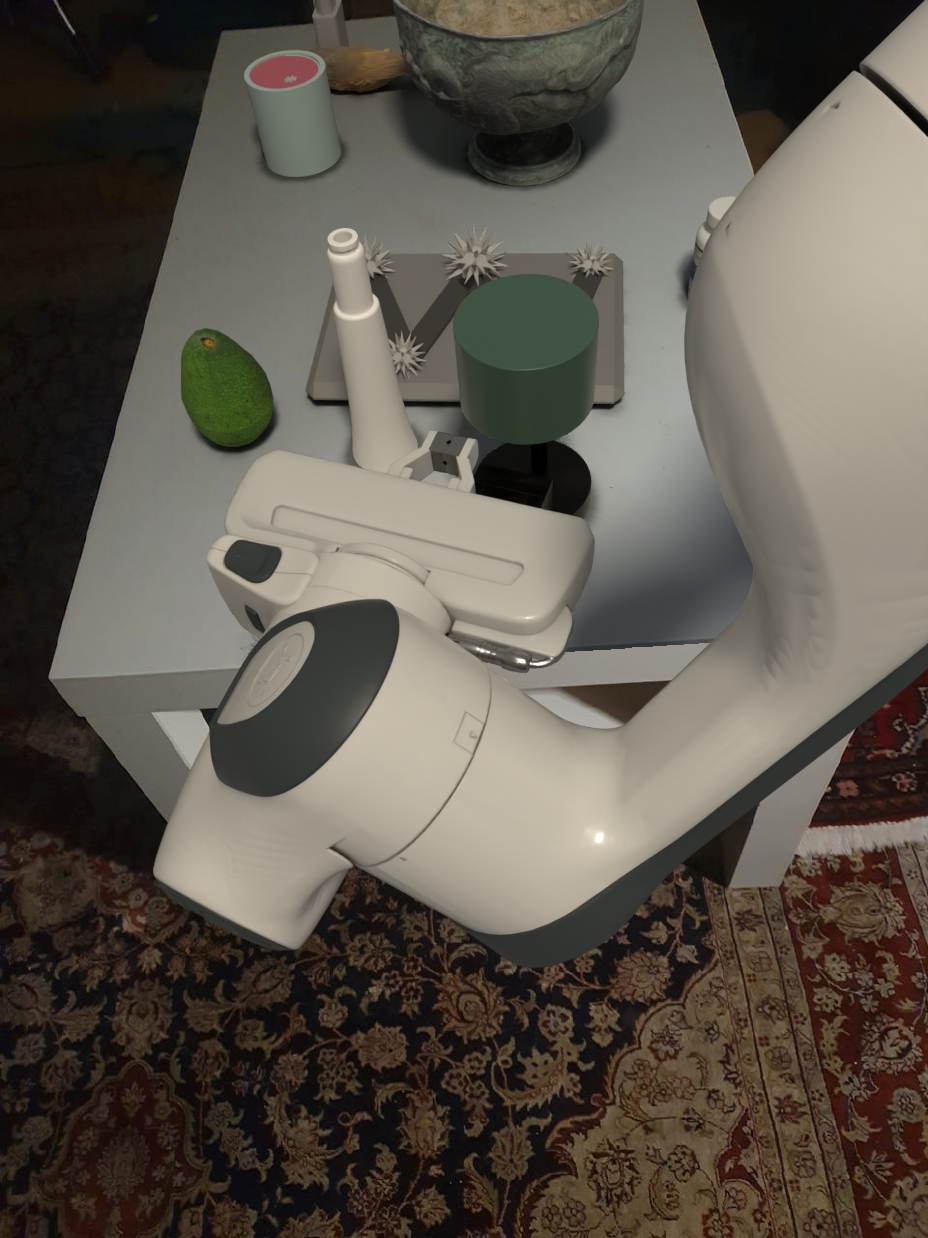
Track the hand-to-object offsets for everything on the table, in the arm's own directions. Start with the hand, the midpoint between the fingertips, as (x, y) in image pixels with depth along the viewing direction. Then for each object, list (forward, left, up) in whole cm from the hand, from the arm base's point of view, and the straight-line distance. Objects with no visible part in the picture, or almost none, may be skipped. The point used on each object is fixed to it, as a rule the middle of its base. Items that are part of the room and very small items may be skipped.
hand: (455, 441), depth 55 cm
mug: (+30, -69, -22) cm, 79 cm away
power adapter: (+30, -88, -22) cm, 96 cm away
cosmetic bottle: (+11, -19, -22) cm, 31 cm away
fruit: (+25, -20, -22) cm, 39 cm away
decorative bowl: (+3, -67, -22) cm, 71 cm away
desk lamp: (-3, -13, -22) cm, 25 cm away
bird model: (+24, -82, -22) cm, 88 cm away
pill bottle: (-19, -42, -22) cm, 51 cm away
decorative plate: (+5, -35, -22) cm, 42 cm away
